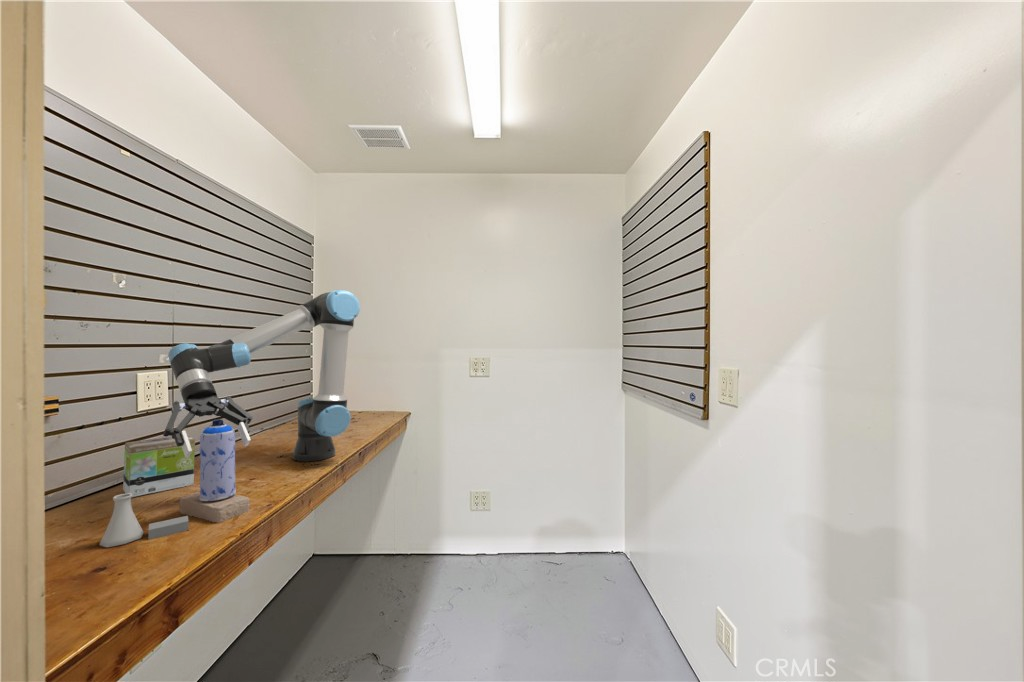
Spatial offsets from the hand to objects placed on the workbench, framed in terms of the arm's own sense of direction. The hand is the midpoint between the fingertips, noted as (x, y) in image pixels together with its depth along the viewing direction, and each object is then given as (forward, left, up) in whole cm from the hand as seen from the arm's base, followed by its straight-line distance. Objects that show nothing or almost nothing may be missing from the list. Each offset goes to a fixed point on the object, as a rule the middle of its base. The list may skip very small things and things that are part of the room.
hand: (220, 448), depth 106 cm
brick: (+1, +1, -17) cm, 17 cm away
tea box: (+15, -30, -16) cm, 37 cm away
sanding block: (+10, +9, -17) cm, 21 cm away
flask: (+18, +8, -16) cm, 25 cm away
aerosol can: (0, +1, -12) cm, 12 cm away
